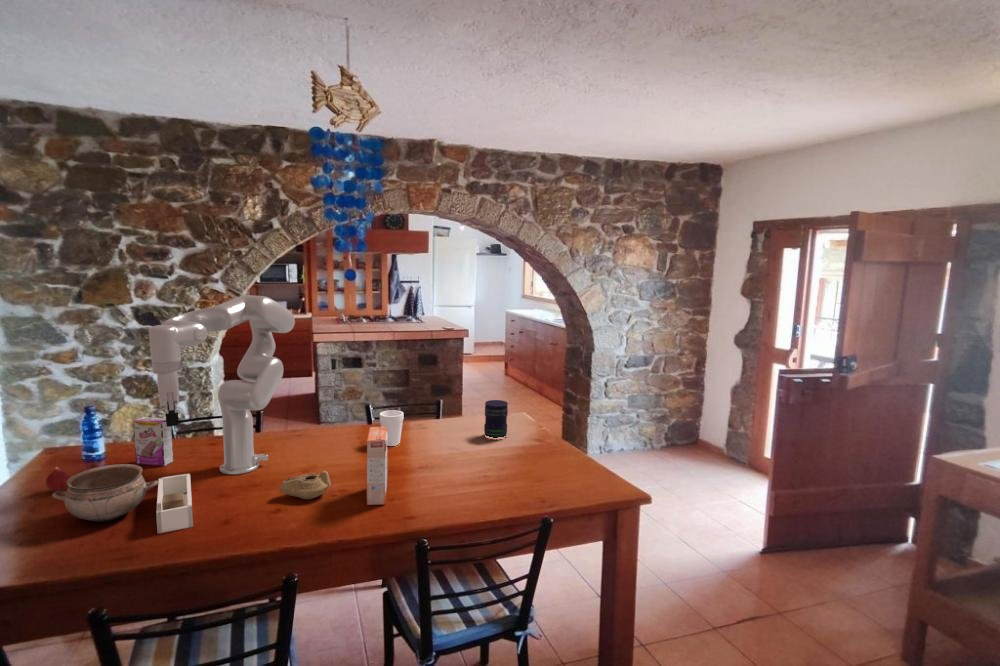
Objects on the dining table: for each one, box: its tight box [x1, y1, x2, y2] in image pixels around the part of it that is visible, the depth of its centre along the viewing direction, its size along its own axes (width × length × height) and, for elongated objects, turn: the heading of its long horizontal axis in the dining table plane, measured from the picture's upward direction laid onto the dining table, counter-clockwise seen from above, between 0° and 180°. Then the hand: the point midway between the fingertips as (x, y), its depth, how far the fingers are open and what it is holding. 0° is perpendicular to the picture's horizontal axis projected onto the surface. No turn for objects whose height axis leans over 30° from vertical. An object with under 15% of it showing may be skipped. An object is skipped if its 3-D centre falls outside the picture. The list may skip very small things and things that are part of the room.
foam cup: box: [379, 409, 405, 447], centre depth 221 cm, size 10×9×13 cm
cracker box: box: [366, 426, 388, 506], centre depth 173 cm, size 14×6×21 cm, turn 9°
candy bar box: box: [132, 416, 174, 467], centre depth 195 cm, size 11×5×16 cm, turn 84°
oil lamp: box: [279, 470, 332, 500], centre depth 172 cm, size 11×15×8 cm
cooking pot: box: [51, 463, 159, 523], centre depth 155 cm, size 25×19×12 cm
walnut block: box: [162, 492, 184, 510], centre depth 152 cm, size 5×5×5 cm
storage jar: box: [484, 399, 509, 438], centre depth 234 cm, size 10×10×15 cm
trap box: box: [155, 473, 194, 534], centre depth 160 cm, size 8×26×6 cm, turn 30°
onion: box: [45, 466, 71, 492], centre depth 171 cm, size 6×6×8 cm
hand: (172, 425), depth 166 cm, fingers closed
